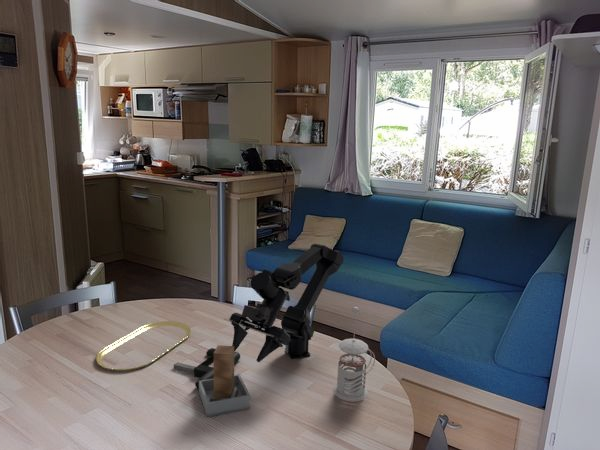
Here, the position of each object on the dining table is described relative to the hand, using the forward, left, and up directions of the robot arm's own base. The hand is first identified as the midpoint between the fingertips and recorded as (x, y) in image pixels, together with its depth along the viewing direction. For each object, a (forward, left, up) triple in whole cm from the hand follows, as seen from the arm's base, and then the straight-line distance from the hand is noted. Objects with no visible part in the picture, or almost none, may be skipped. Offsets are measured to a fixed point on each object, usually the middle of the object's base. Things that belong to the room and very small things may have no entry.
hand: (244, 356), depth 126 cm
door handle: (+9, -13, -10) cm, 19 cm away
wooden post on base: (+7, +4, -9) cm, 12 cm away
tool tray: (+7, +4, -9) cm, 12 cm away
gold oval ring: (+24, -34, -10) cm, 42 cm away
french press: (-28, +11, -10) cm, 32 cm away
